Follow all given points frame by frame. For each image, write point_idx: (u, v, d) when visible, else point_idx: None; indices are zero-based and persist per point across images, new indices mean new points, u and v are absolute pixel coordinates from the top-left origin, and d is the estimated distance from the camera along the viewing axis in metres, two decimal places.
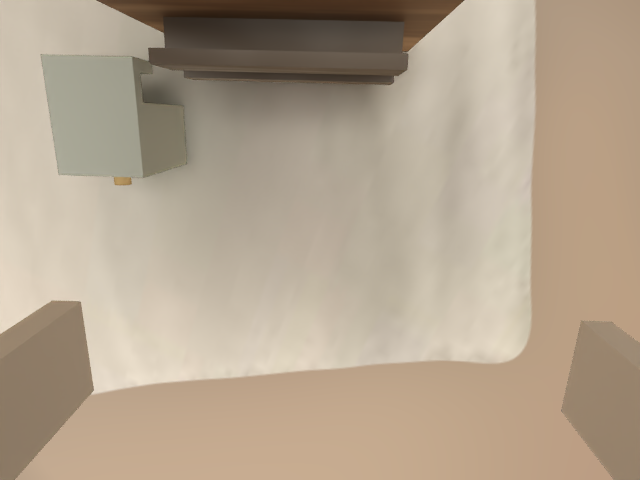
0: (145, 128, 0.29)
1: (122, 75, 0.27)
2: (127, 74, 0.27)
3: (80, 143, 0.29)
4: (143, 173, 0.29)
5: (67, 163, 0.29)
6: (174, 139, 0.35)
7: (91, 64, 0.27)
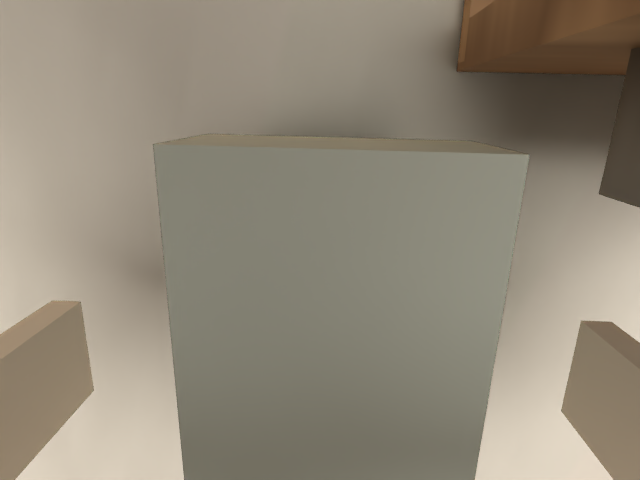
0: None
1: (471, 222, 0.07)
2: (493, 220, 0.07)
3: (272, 431, 0.08)
4: None
5: None
6: None
7: (354, 183, 0.07)
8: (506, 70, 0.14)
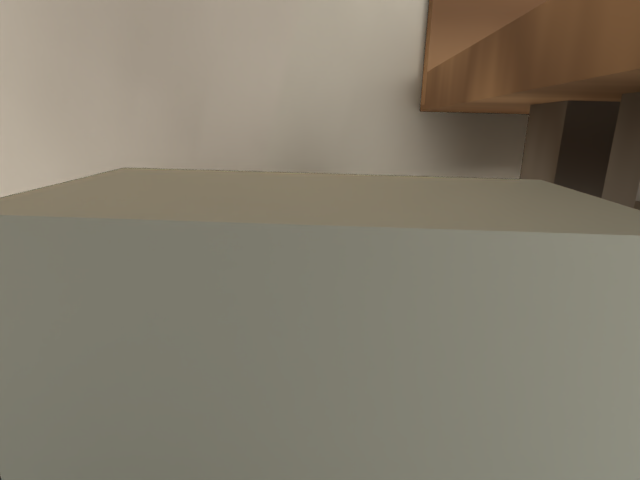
0: None
1: (595, 368, 0.03)
2: (639, 365, 0.03)
3: None
4: None
5: None
6: None
7: (358, 292, 0.03)
8: (457, 111, 0.17)
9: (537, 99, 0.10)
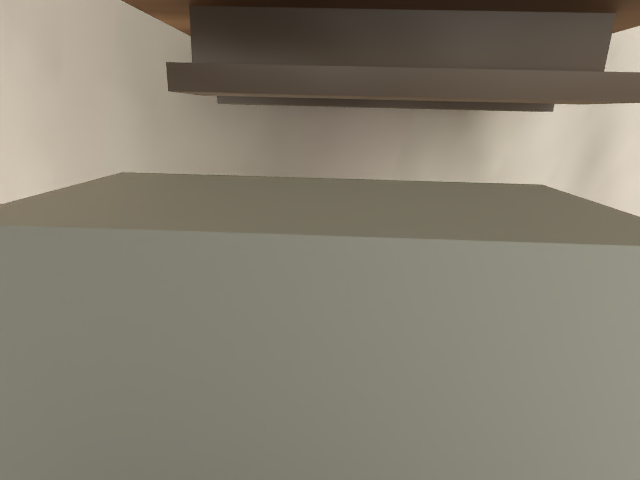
0: None
1: (598, 378, 0.03)
2: None
3: None
4: None
5: None
6: None
7: (358, 302, 0.03)
8: None
9: None
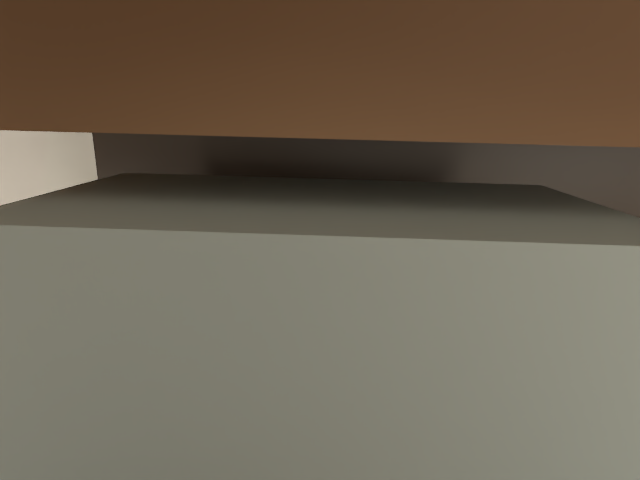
0: None
1: (595, 377, 0.03)
2: None
3: None
4: None
5: None
6: None
7: (358, 302, 0.03)
8: None
9: None
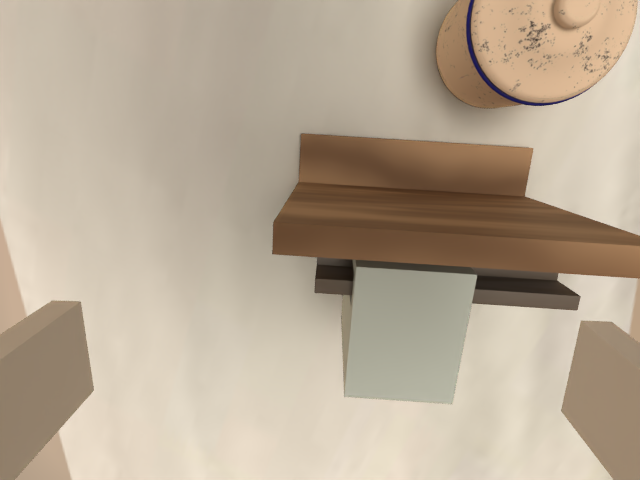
0: None
1: (458, 294, 0.21)
2: (465, 294, 0.21)
3: (382, 365, 0.23)
4: None
5: (358, 385, 0.23)
6: None
7: (420, 281, 0.21)
8: None
9: None
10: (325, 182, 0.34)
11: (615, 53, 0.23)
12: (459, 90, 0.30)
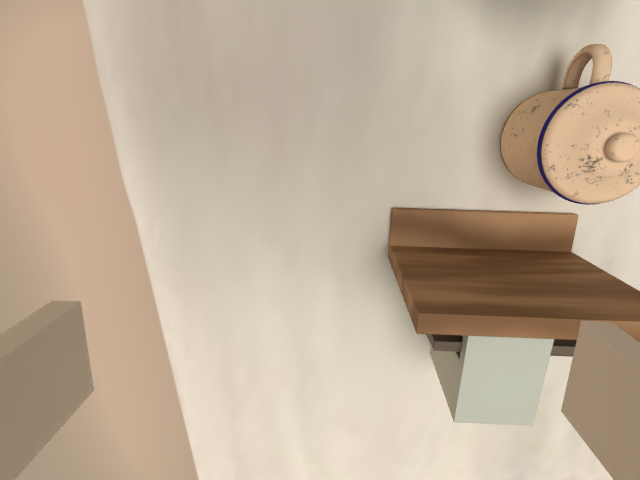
0: None
1: (540, 352, 0.30)
2: (545, 351, 0.30)
3: (483, 400, 0.32)
4: None
5: (465, 414, 0.32)
6: None
7: (513, 344, 0.30)
8: None
9: None
10: (411, 245, 0.42)
11: None
12: (521, 177, 0.39)
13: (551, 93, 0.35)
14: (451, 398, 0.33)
